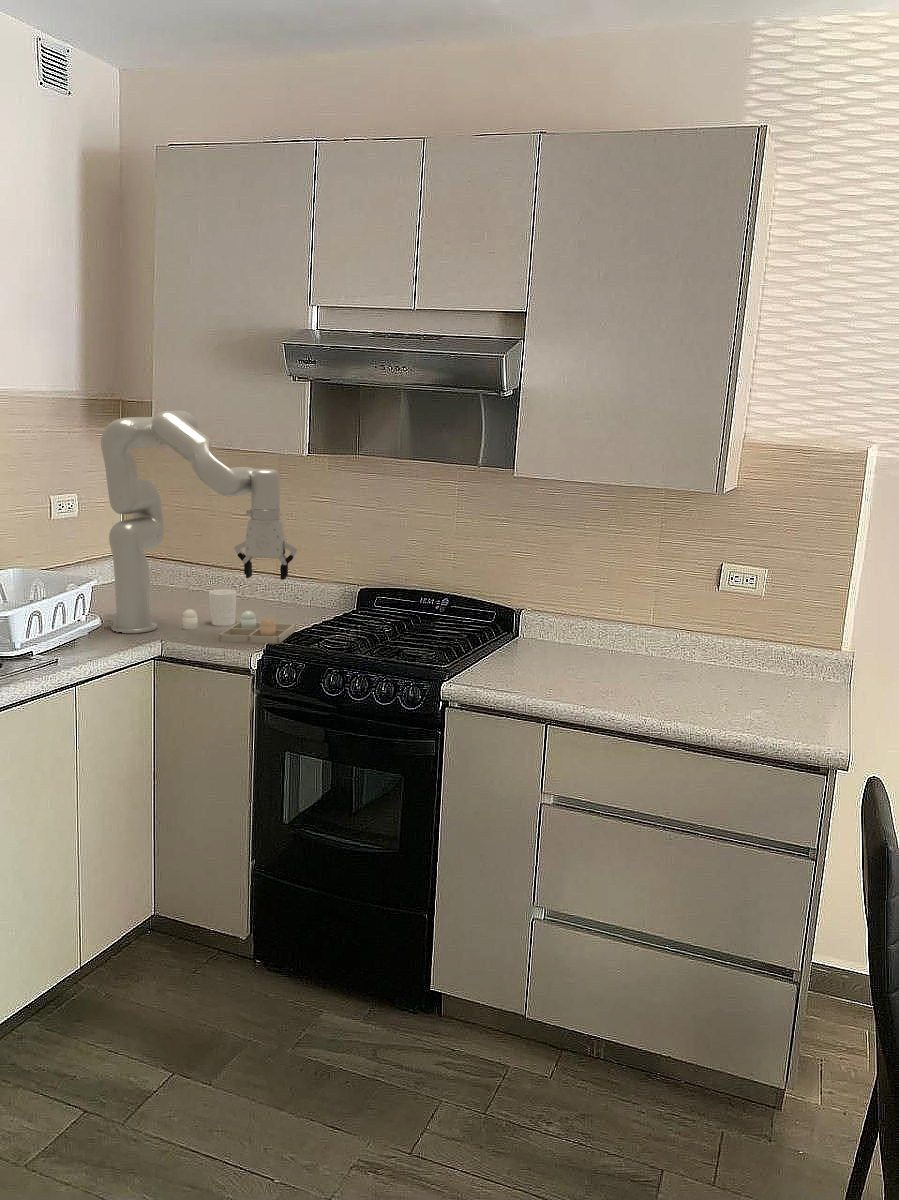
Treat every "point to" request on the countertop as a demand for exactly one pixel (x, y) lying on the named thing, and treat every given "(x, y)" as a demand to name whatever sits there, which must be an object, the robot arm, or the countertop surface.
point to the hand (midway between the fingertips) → (266, 578)
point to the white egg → (190, 620)
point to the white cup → (222, 607)
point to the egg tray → (256, 634)
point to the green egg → (248, 620)
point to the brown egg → (267, 627)
